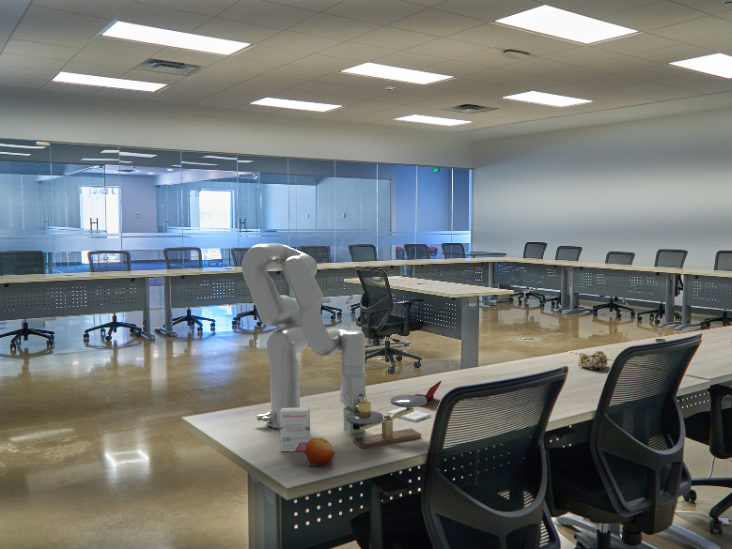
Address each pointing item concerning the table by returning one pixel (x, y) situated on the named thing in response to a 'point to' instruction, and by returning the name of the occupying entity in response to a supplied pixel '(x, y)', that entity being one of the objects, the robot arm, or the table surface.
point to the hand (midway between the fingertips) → (354, 425)
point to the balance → (385, 421)
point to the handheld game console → (430, 392)
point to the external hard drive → (411, 415)
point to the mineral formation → (593, 360)
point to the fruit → (319, 452)
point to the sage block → (349, 426)
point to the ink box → (294, 428)
